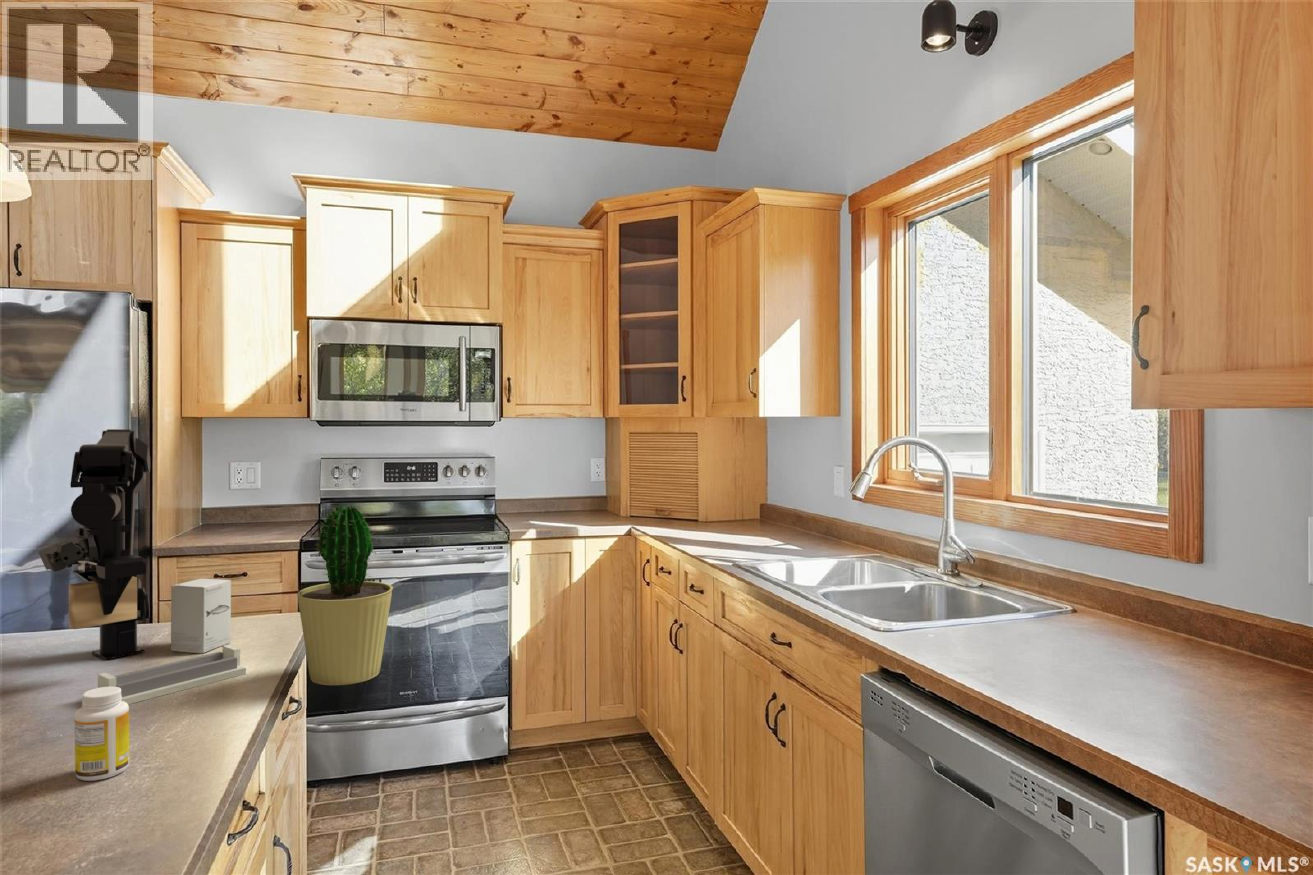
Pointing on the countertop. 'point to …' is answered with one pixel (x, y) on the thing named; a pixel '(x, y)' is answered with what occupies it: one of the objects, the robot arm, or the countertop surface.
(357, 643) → the potted cactus
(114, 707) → the supplement bottle
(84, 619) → the door panel
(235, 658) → the track board
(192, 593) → the supplement box
